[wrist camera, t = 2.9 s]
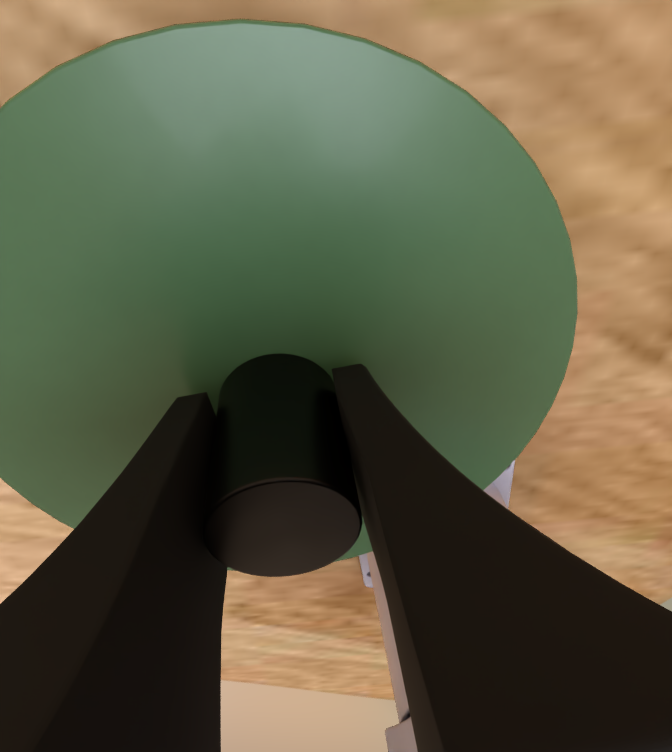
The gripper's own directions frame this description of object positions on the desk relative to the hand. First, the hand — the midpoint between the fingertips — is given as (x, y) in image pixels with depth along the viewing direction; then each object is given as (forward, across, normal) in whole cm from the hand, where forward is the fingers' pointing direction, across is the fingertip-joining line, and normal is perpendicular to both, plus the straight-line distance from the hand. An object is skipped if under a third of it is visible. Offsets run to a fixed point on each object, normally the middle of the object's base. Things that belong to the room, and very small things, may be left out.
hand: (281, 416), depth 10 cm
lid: (+1, 0, 0) cm, 1 cm away
